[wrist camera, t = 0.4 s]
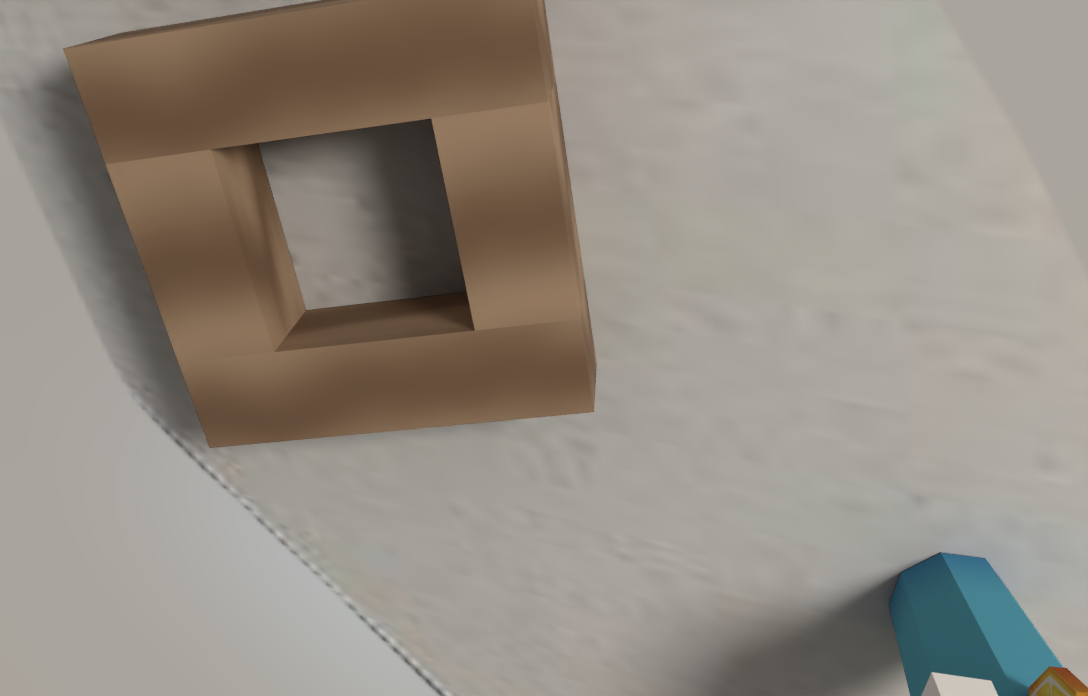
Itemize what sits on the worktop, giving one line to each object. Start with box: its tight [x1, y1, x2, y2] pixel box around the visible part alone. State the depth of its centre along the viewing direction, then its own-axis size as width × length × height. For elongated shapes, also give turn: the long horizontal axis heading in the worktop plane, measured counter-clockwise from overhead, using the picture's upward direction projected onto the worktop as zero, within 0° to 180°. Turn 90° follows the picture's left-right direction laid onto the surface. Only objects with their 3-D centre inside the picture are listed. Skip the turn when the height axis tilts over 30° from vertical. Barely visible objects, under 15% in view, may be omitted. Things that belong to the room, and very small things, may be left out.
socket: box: [63, 0, 597, 448], centre depth 35 cm, size 16×16×4 cm
